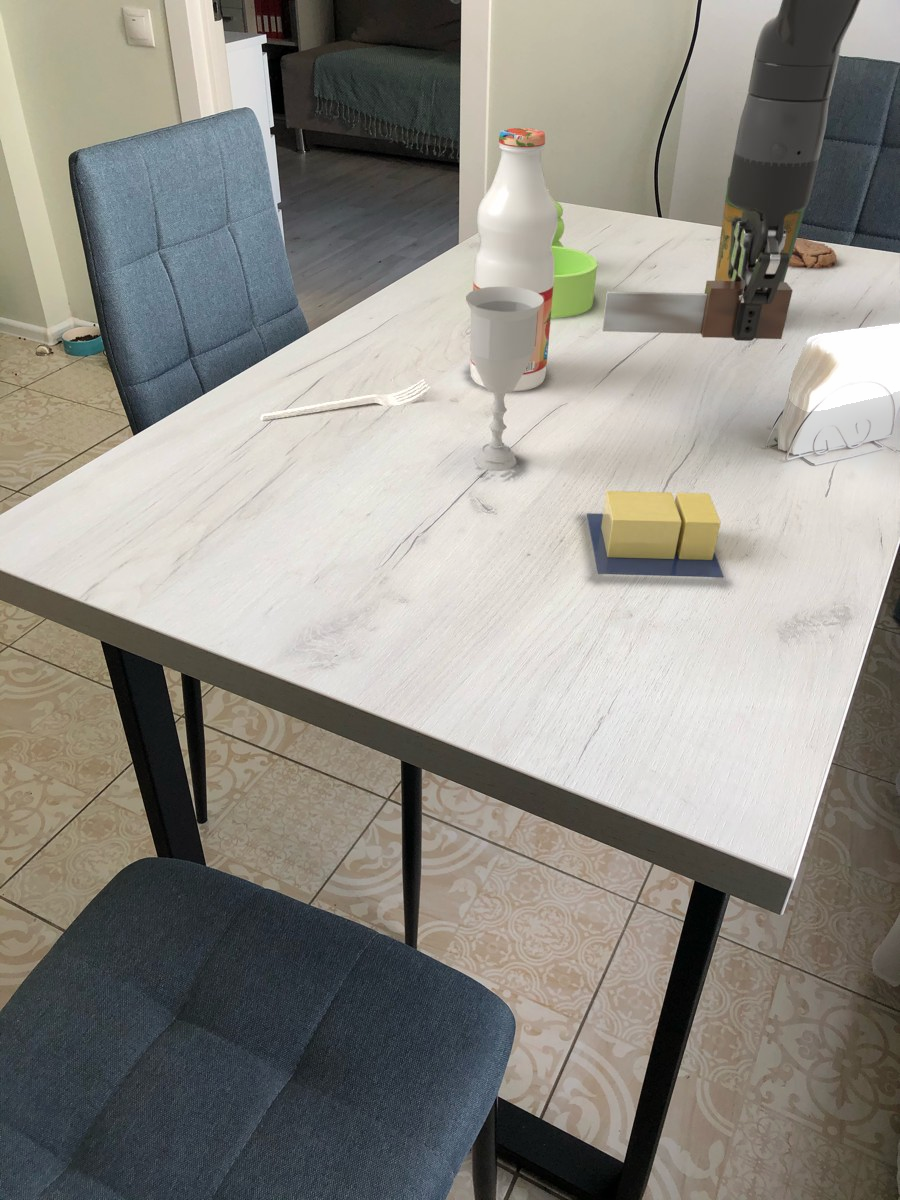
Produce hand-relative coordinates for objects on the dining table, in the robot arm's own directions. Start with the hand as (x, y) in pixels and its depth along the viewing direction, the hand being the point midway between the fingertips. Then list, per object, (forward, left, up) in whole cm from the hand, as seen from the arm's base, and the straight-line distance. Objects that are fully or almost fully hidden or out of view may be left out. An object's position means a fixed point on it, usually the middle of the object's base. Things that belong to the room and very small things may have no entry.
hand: (739, 332), depth 96 cm
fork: (+42, -6, -13) cm, 44 cm away
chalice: (+25, +7, -13) cm, 29 cm away
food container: (+17, -49, -13) cm, 53 cm away
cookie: (-28, -67, -13) cm, 74 cm away
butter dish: (+11, +22, -13) cm, 27 cm away
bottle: (-11, -38, -13) cm, 42 cm away
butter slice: (+7, +22, -12) cm, 26 cm away
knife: (+5, 0, 0) cm, 5 cm away
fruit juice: (+23, -16, -13) cm, 31 cm away
